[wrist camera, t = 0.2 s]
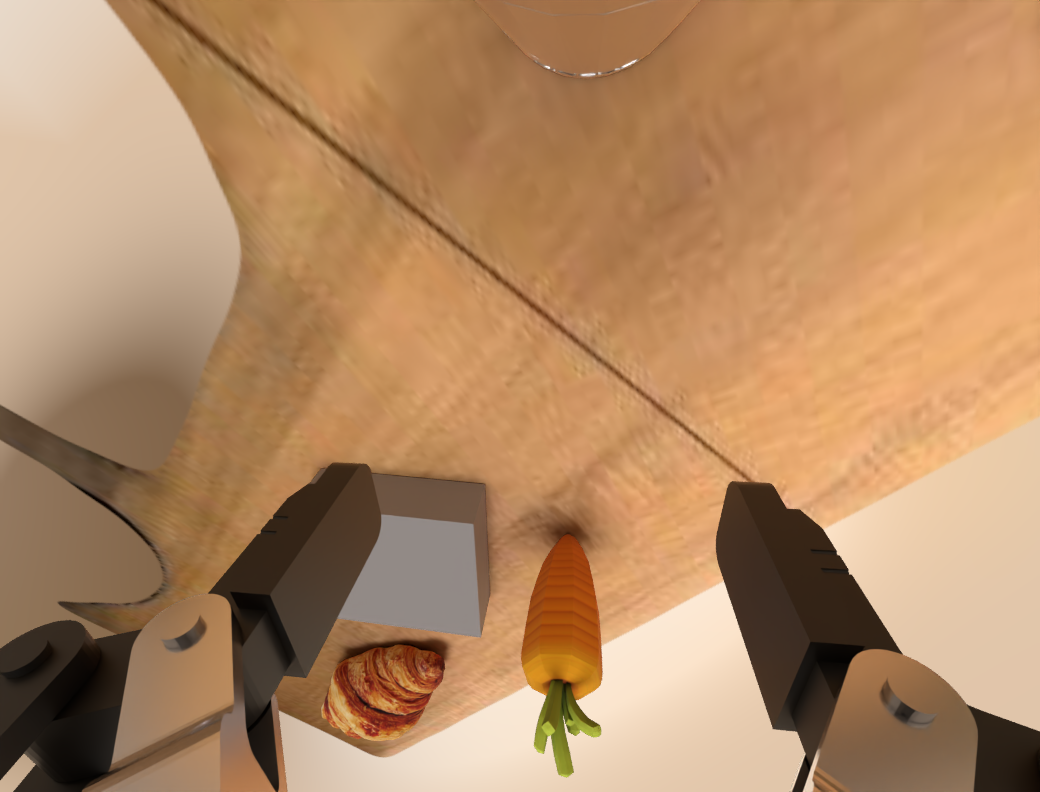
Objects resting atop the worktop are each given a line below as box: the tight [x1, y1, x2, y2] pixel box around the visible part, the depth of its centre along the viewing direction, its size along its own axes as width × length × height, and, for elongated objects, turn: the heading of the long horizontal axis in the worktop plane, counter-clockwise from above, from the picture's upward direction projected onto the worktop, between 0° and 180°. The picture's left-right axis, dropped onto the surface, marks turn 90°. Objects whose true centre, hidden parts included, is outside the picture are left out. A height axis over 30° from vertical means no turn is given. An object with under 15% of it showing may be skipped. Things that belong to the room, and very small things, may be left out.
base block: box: [309, 469, 490, 637], centre depth 36 cm, size 13×13×4 cm
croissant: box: [321, 644, 445, 741], centre depth 48 cm, size 21×10×8 cm, turn 136°
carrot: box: [521, 534, 602, 777], centre depth 29 cm, size 5×5×15 cm
